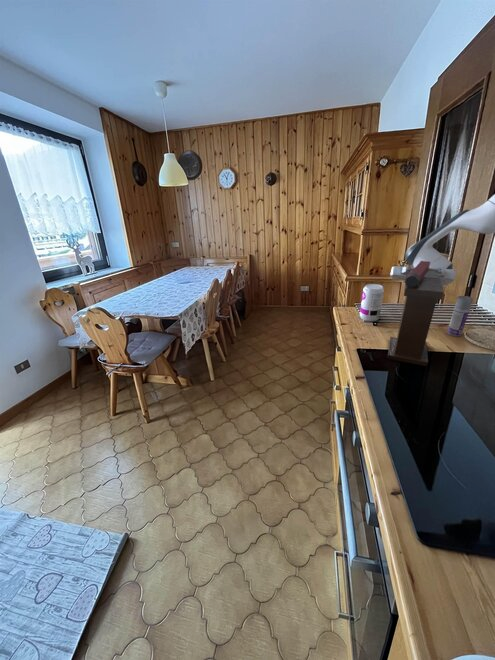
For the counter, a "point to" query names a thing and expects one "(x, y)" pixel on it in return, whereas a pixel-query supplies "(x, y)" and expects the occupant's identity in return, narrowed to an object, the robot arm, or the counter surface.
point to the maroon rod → (417, 274)
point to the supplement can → (371, 302)
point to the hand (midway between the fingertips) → (424, 268)
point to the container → (459, 315)
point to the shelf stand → (416, 322)
